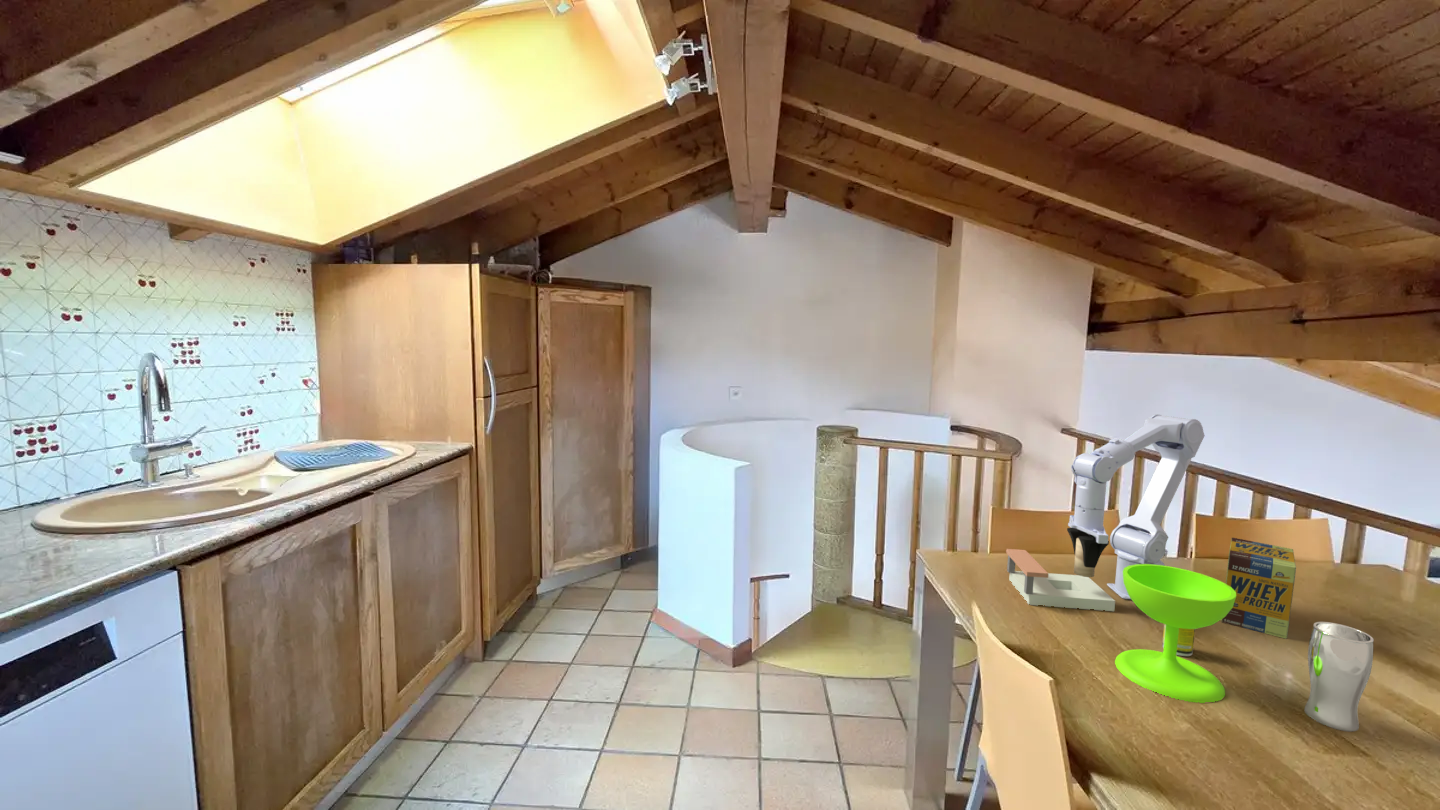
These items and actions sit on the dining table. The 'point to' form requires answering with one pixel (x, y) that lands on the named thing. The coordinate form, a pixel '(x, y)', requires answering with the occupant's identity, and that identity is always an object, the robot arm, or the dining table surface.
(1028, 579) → the pink miniature bench
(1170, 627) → the wineglass
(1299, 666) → the dining table surface
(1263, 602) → the protein box
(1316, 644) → the beer glass
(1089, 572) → the peg
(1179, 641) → the supplement bottle
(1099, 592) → the socket board
